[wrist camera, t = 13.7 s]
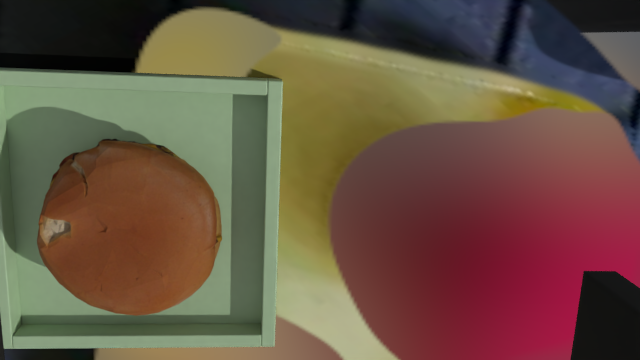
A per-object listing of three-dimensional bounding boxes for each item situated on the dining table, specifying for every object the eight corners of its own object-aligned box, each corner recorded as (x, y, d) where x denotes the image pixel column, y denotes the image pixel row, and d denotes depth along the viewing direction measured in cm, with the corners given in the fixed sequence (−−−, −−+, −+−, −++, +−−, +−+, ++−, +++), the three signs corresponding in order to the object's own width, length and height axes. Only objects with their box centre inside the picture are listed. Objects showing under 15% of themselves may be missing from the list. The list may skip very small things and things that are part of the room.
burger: (237, 280, 36) (233, 315, 31) (80, 307, 35) (53, 347, 31) (205, 117, 33) (196, 130, 29) (36, 144, 33) (0, 161, 28)
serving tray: (281, 78, 34) (283, 81, 32) (274, 331, 37) (274, 347, 35) (-9, 67, 32) (-27, 69, 30) (12, 332, 36) (-3, 349, 34)
